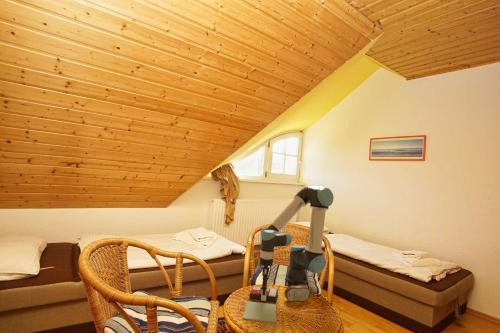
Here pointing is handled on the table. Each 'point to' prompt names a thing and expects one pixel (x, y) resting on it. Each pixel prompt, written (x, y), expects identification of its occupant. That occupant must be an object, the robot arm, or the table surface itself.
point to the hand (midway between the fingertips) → (263, 295)
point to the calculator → (270, 294)
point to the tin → (297, 293)
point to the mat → (260, 312)
